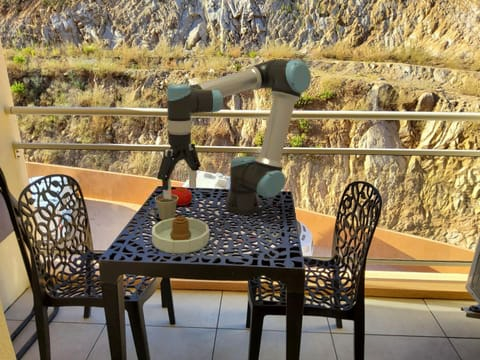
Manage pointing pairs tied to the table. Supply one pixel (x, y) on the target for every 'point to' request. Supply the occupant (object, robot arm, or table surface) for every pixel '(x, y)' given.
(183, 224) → the ornamental finial
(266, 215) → the table surface
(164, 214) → the flower pot
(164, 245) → the bowl
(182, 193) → the tomato
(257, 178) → the robot arm
